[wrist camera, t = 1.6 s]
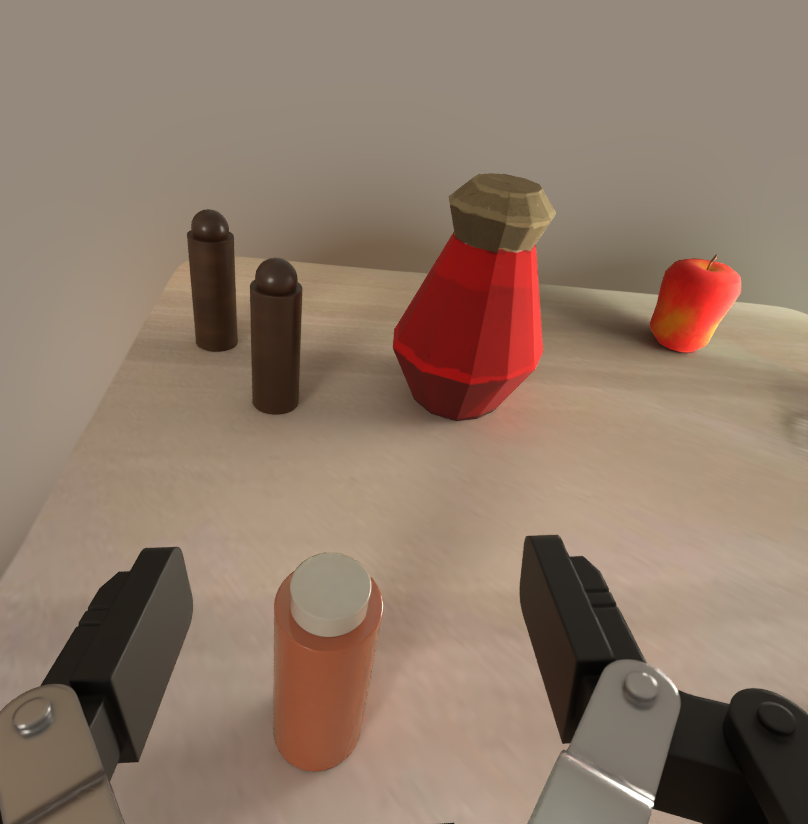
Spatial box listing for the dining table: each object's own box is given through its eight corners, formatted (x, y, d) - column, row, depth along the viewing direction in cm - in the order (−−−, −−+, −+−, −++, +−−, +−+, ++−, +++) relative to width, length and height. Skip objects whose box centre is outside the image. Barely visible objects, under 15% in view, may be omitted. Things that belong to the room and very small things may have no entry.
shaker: (302, 792, 26) (313, 655, 20) (257, 714, 29) (253, 570, 23) (378, 734, 29) (409, 596, 23) (330, 667, 32) (345, 526, 25)
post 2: (266, 419, 49) (265, 272, 41) (244, 396, 51) (240, 253, 44) (306, 406, 51) (313, 265, 44) (284, 384, 53) (286, 247, 46)
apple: (688, 330, 77) (729, 244, 70) (722, 362, 70) (770, 271, 63) (629, 325, 76) (664, 237, 69) (657, 357, 69) (700, 263, 62)
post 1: (206, 355, 56) (196, 219, 48) (189, 337, 58) (177, 205, 51) (244, 346, 58) (240, 215, 51) (226, 329, 60) (220, 201, 53)
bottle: (442, 342, 65) (479, 152, 53) (551, 391, 59) (619, 191, 48) (352, 395, 53) (375, 171, 42) (477, 462, 48) (542, 224, 36)
